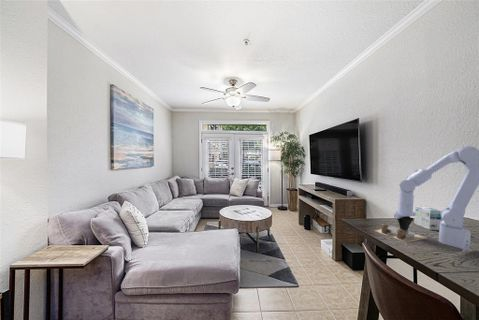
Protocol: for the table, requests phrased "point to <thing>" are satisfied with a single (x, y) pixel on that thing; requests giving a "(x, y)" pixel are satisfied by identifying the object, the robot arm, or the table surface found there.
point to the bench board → (398, 234)
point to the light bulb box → (428, 217)
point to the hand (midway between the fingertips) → (403, 231)
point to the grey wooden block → (407, 234)
